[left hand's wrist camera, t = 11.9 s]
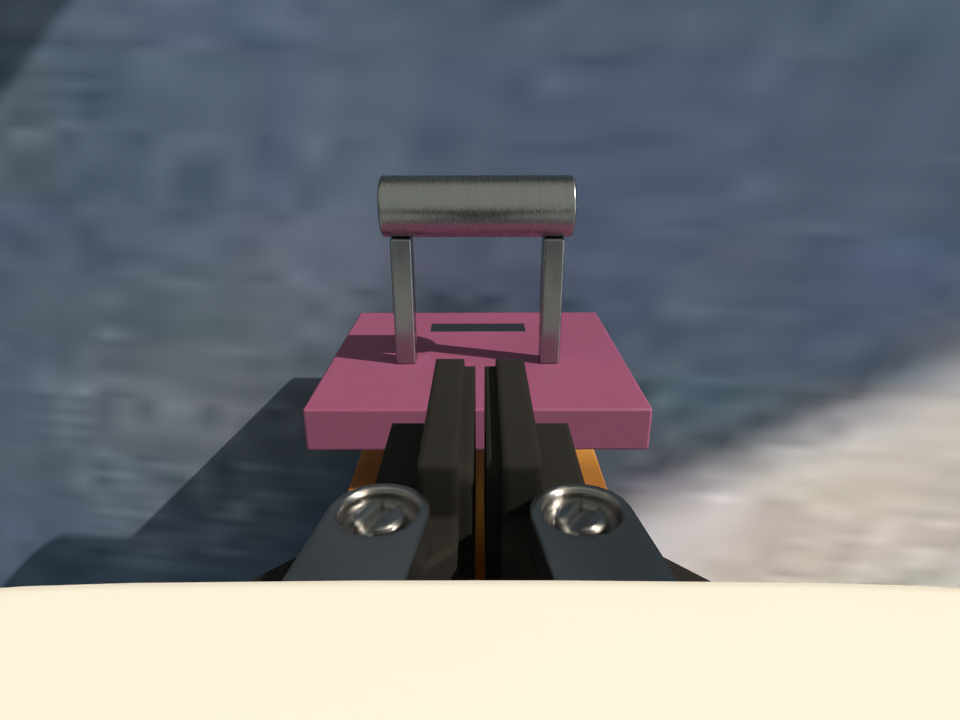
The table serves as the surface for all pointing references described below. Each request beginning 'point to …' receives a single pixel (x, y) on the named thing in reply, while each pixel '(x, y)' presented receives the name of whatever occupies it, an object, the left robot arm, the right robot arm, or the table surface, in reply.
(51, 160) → the table surface
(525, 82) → the table surface
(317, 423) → the drawer
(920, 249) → the table surface
